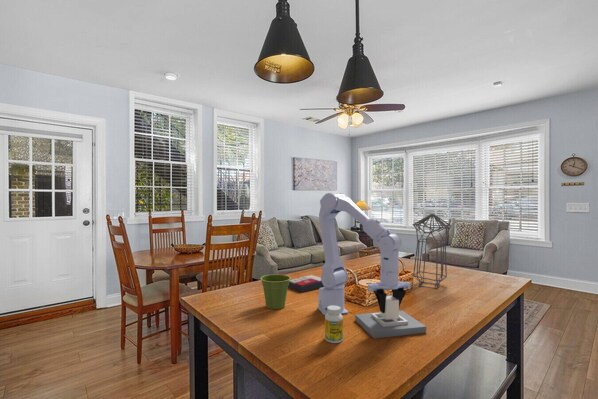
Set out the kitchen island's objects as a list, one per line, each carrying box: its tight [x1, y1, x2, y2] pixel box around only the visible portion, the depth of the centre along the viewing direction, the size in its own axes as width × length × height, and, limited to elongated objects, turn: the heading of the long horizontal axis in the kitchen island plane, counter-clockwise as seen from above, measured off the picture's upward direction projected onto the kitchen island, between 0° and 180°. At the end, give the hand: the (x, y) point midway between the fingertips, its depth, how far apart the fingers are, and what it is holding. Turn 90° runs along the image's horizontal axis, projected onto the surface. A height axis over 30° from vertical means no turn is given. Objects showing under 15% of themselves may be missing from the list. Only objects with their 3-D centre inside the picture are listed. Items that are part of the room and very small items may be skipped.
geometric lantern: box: [412, 213, 452, 290], centre depth 148 cm, size 16×16×35 cm
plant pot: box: [259, 273, 292, 311], centre depth 119 cm, size 12×12×11 cm
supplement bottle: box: [324, 305, 344, 344], centre depth 92 cm, size 5×5×10 cm
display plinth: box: [354, 310, 427, 339], centre depth 101 cm, size 18×14×3 cm
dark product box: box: [288, 274, 324, 294], centre depth 145 cm, size 11×4×15 cm
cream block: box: [379, 295, 400, 320], centre depth 101 cm, size 4×4×6 cm
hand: (389, 311), depth 101 cm, fingers closed on cream block, 4 cm apart
